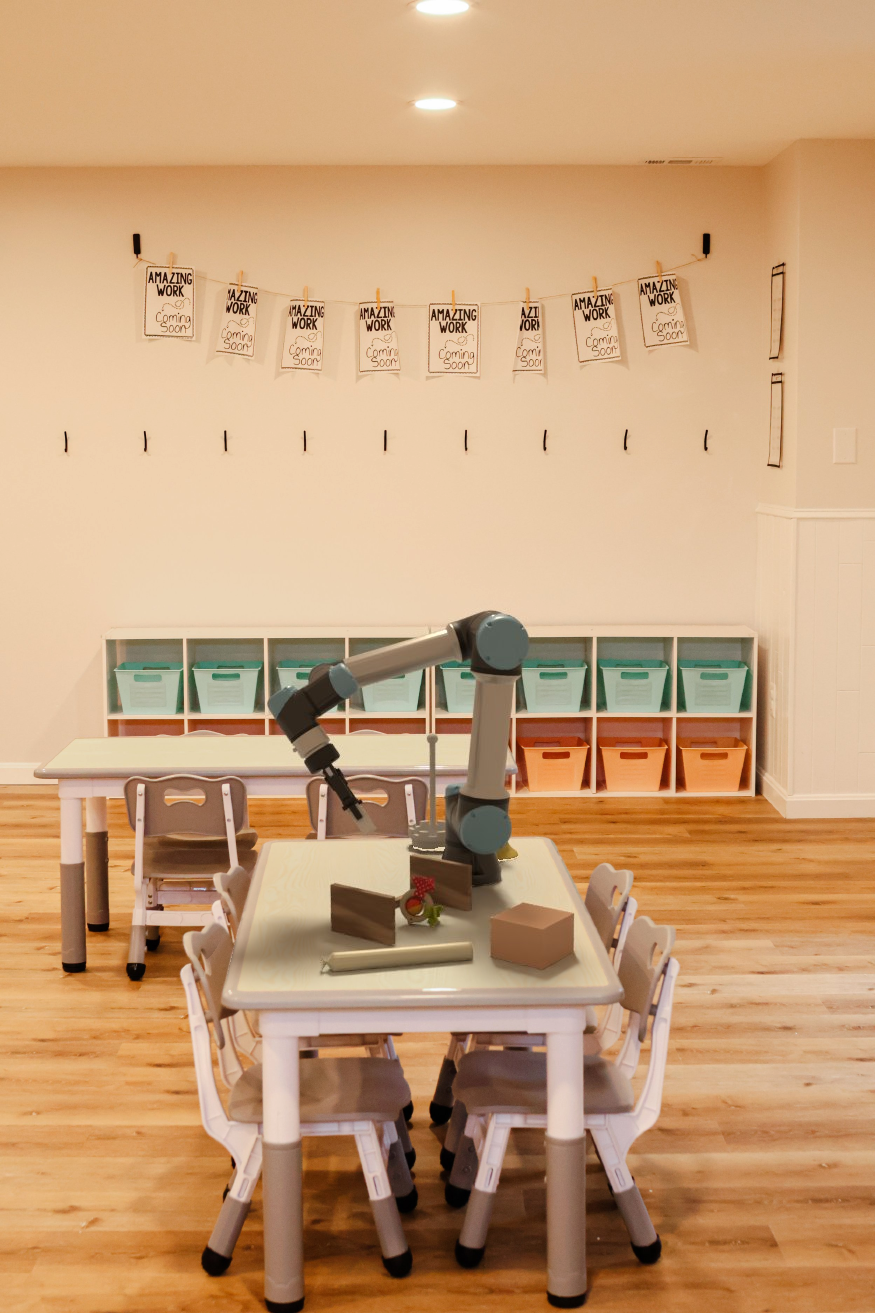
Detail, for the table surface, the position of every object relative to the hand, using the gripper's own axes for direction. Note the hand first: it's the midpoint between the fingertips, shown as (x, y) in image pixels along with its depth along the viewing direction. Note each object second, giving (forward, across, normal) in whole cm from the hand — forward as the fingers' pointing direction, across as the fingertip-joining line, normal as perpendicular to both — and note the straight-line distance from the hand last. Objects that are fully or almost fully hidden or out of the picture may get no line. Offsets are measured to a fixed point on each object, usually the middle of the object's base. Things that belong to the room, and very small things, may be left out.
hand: (370, 832), depth 283 cm
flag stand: (+11, -58, +9) cm, 60 cm away
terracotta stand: (+39, +21, +14) cm, 46 cm away
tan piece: (+25, +25, -9) cm, 37 cm away
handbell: (+21, -50, +21) cm, 58 cm away
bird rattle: (+22, +2, -2) cm, 23 cm away
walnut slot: (+19, 0, -5) cm, 20 cm away
